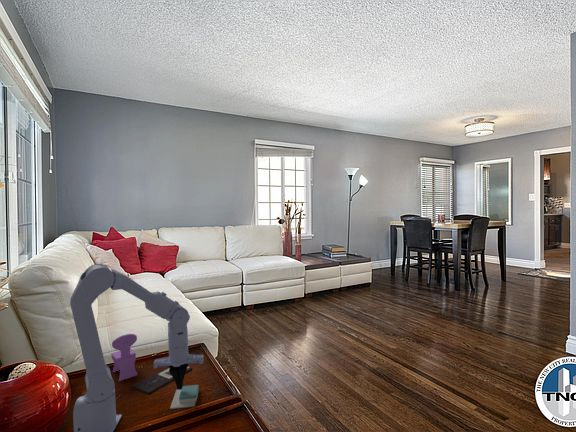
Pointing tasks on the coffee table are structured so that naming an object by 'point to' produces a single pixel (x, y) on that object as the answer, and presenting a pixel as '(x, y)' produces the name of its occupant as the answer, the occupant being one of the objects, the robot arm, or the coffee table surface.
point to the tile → (189, 393)
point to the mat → (177, 405)
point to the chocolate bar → (156, 381)
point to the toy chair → (124, 356)
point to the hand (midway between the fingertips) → (180, 387)
